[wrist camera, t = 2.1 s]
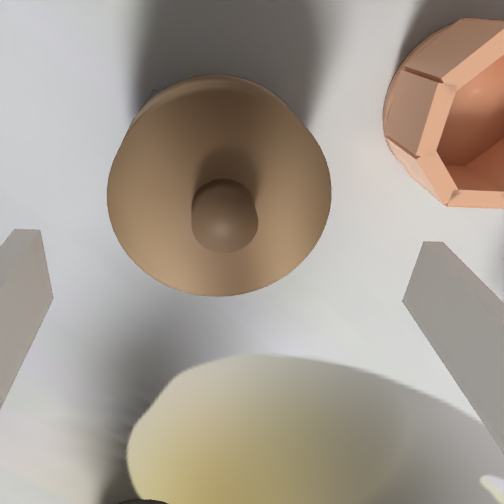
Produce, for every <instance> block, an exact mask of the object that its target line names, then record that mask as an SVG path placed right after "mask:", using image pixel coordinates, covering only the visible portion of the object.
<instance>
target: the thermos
mask: <svg viewBox="0 0 504 504" xmlns="http://www.w3.org/2000/svg"><path fill="white" fill-rule="evenodd" d="M120 504H167V503H165V502H162V501H156V500H133V501H127V502H123V503H120Z"/></svg>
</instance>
